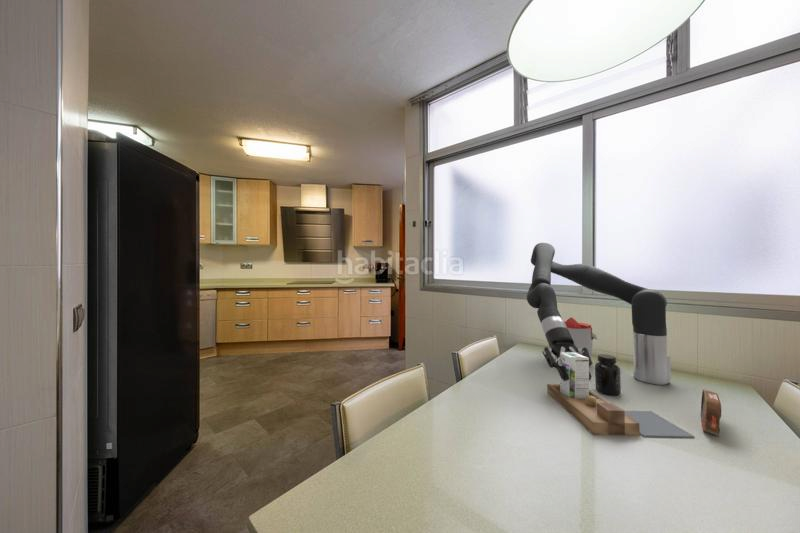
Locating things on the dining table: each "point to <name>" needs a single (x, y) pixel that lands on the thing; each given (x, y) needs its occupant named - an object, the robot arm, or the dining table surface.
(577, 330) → the citrus juicer
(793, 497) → the dining table surface
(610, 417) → the body
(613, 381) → the supplement bottle
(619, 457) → the dining table surface
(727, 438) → the dining table surface
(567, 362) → the syrup box
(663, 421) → the mat
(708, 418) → the tin
